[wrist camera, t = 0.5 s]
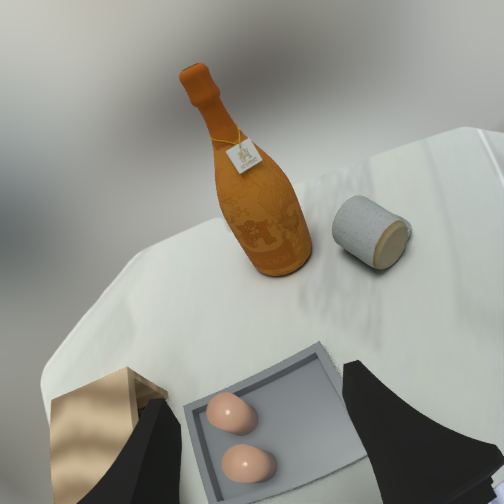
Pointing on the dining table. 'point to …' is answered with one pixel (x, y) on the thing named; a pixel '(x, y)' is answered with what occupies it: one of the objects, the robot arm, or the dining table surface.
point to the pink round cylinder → (248, 464)
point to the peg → (232, 414)
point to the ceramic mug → (370, 232)
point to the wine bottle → (250, 186)
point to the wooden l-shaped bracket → (94, 430)
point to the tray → (280, 428)
